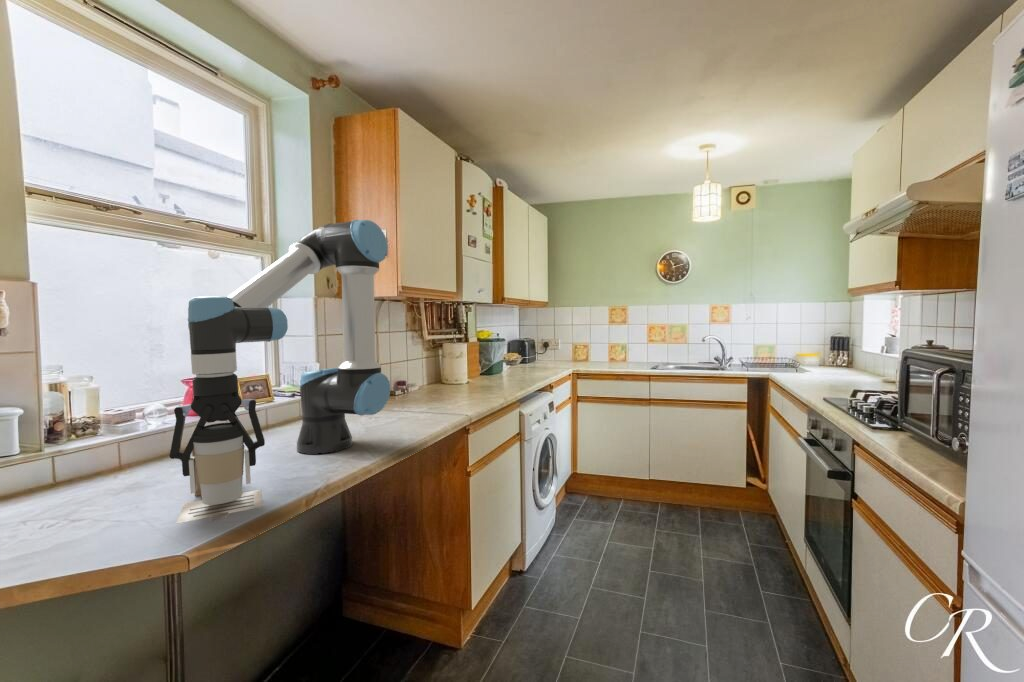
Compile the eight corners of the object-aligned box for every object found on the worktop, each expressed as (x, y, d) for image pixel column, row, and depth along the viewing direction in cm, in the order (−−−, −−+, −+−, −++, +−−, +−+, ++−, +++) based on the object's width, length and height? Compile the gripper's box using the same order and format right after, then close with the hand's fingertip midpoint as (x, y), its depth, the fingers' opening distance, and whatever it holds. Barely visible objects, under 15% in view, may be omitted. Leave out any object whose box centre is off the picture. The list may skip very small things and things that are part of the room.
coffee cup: (190, 510, 86) (185, 432, 86) (201, 494, 95) (196, 422, 94) (245, 501, 90) (241, 426, 89) (251, 486, 98) (247, 417, 97)
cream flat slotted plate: (269, 488, 103) (269, 485, 103) (271, 511, 90) (271, 508, 90) (176, 504, 94) (176, 502, 94) (163, 533, 82) (163, 530, 81)
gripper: (275, 368, 99) (280, 471, 101) (151, 377, 89) (159, 491, 90) (276, 372, 93) (281, 481, 94) (143, 381, 83) (151, 504, 84)
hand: (221, 486), depth 92 cm, fingers closed on coffee cup, 9 cm apart
